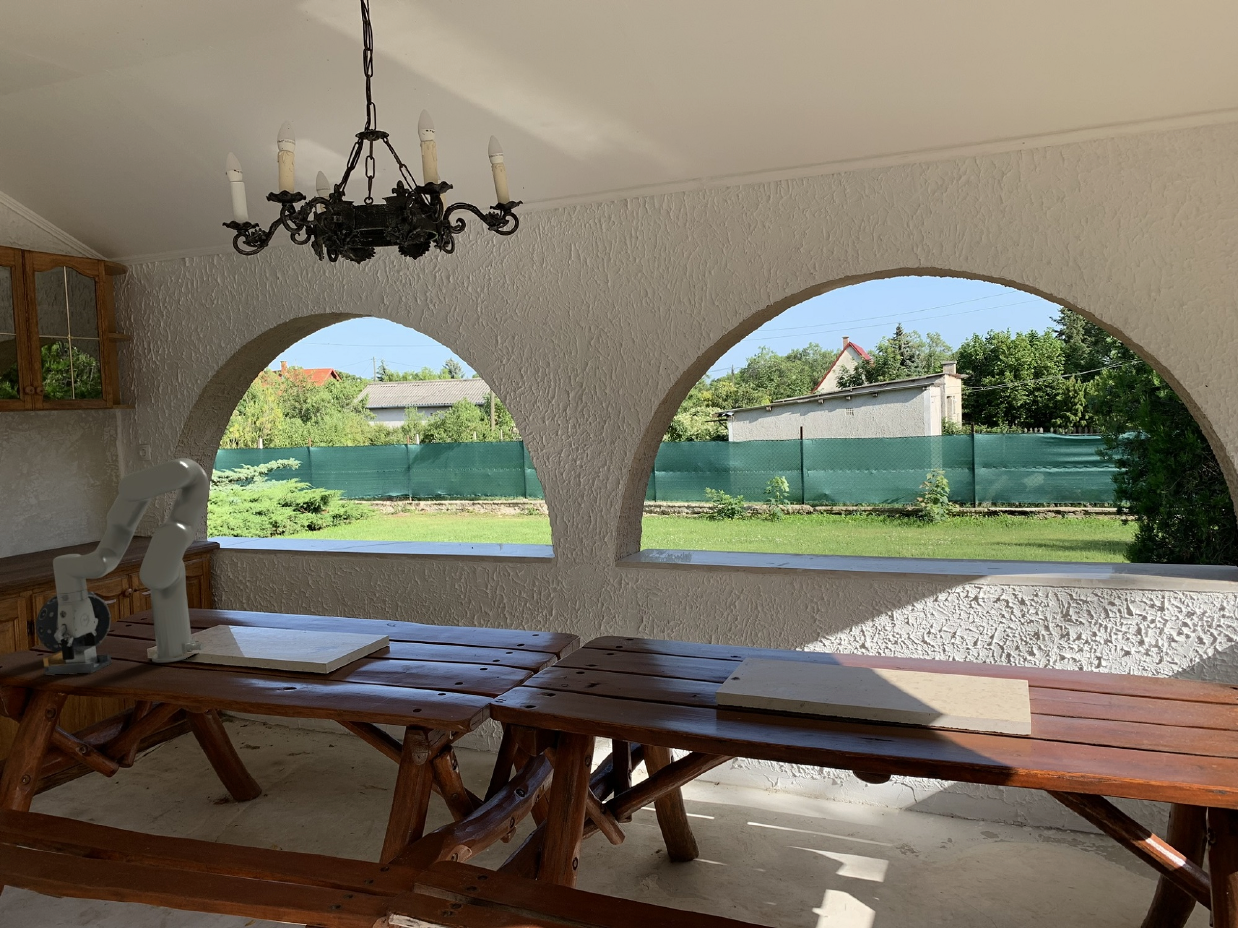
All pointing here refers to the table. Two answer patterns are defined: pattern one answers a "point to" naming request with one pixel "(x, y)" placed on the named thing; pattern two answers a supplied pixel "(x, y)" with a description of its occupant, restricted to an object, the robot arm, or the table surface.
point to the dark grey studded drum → (49, 626)
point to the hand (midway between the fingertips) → (80, 654)
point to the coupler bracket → (73, 664)
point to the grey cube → (84, 655)
